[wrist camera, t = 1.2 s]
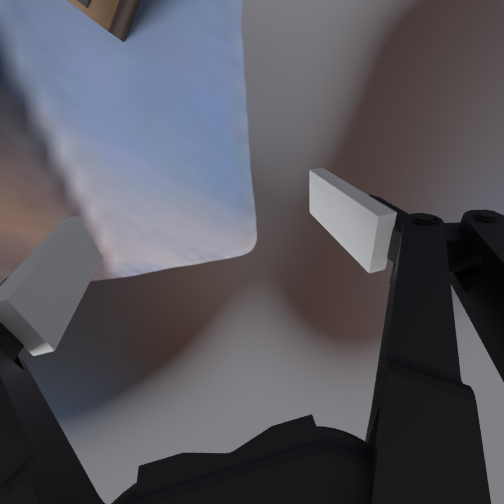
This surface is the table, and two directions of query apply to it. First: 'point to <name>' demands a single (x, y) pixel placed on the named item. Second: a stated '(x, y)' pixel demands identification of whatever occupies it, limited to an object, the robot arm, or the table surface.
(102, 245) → the table surface
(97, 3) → the socket block
